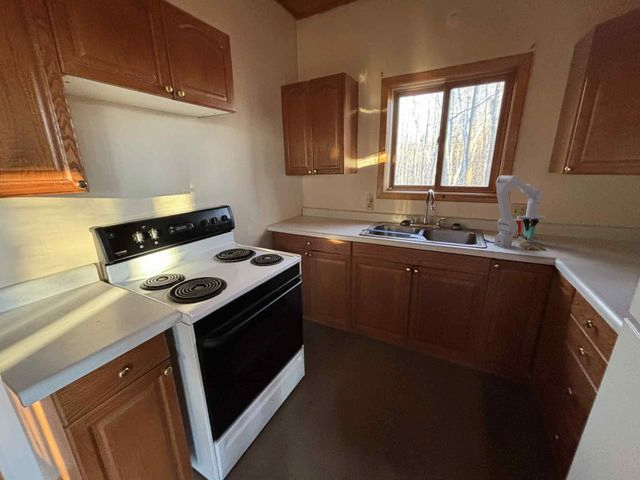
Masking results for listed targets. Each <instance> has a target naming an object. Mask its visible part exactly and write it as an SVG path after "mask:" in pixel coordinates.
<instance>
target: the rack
mask: <svg viewBox="0 0 640 480" xmlns="http://www.w3.org/2000/svg"><path fill="white" fill-rule="evenodd" d="M530 245H531V244H530ZM519 247H520V248H521V249H523V250H525V249H524V248H522V247H521V246H520V245H519ZM546 250H547V249H546V248H545V247H543V246H541V245H539V244H538V243H537V244H536V245H531V246H530V250H529V251H535V252H546ZM525 251H526V250H525Z"/></svg>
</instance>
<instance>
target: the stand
mask: <svg viewBox="0 0 640 480" xmlns="http://www.w3.org/2000/svg"><path fill="white" fill-rule="evenodd" d="M517 240H518V241H519V242H520V240H524V241H526V242H527V243H528V244H531V245H533V246H536V244H538V241H537V240H535V239H534V238H528V237H526V236H518V237H517Z"/></svg>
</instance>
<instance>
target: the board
mask: <svg viewBox="0 0 640 480" xmlns="http://www.w3.org/2000/svg"><path fill="white" fill-rule="evenodd" d="M523 228H524V229H523V233H522V235H523V236H524V237H528V238H532V239H534V237H535V233H536V226H535V227H533V226H531V224H529V229H528V231H526V230H525V226H524V227H523Z"/></svg>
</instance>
